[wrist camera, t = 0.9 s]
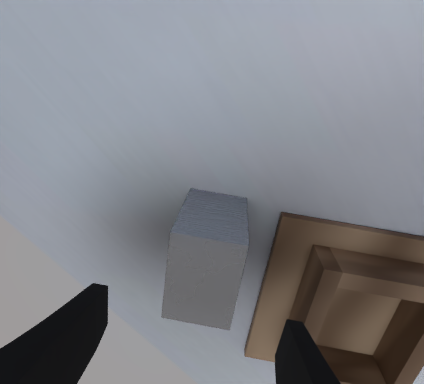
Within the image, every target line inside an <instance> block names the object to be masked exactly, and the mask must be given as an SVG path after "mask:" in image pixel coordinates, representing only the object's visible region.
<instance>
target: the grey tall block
mask: <svg viewBox="0 0 424 384" xmlns="http://www.w3.org/2000/svg"><path fill="white" fill-rule="evenodd" d="M248 248H249V237H248V216H247V198H244V197H238V196H232V195H226V194H220V193H215V192H209V191H203V190H197V189H190V191H189V193H188V195H187V197H186V200H185V202H184V204H183V206H182V208H181V210H180V212H179V214H178V217H177V219H176V221H175V223H174V225H173V227H172V229H171V231H170V238H169V248H168V258H167V268H166V277H165V287H164V297H163V306H162V316H161V317H162V318H167V319H172V320H178V321H183V322H188V323H194V324H199V325H204V326H209V327H215V328H220V329H225V330H230V327H231V322H232V318H233V314H234V309H235V305H236V300H237V296H238V292H239V287H240V283H241V279H242V274H243V270H244V266H245V261H246V257H247V253H248Z"/></svg>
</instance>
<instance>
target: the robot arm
mask: <svg viewBox="0 0 424 384" xmlns="http://www.w3.org/2000/svg"><path fill="white" fill-rule="evenodd" d="M107 321H108V286H106V285H100V284H95V283H93V284H91V285H90V286H88V287H87V288H86V289H84V291H82V292H81V293H79V294H78V295H77V296H75V297H74V298H73V299H71V300H70V301H69V302H68V303H66V304H65V305H64V306H62V307H61V308H60V309H58V310H57V311H55V312H54V313H53V314H51V315H50V316H49V317H47V318H46V319H45V320H43V321H42V322H40V323H39V324H37V325H36V326H34V327H33V328H31V329H30V330H29V331H27V332H25V333H24V334H22V335H21V336H19V337H18V338H16V339H15V340H13V341H12V342H10V343H9V344H7V345H5V346H4V347H2V348H1V349H0V384H77V383H78V381H79V379H80V377H81V376H82V374H83V372H84V371H85V369H86V367H87V365H88V364H89V362H90V360H91V358H92V357H93V355H94V353H95V351H96V349H97V347H98V345H99V343H100V340H101V338H102V336H103V334H104V331H105V329H106V326H107V324H108V322H107ZM275 373H276V384H341V383H340V382H339V380H338V379H337V377H336V375H335V374H334V372H333V371H332V369H331V368H330V366H329V365H328V363H327V362H326V360H325V358H324V357H323V355H322V353H321V352H320V350H319V349H318V347H317V345H316V344H315V342H314V340H313V339H312V337H311V335H310V333H309V332H308V330H307V328H306V327H305V325H304V324H303V322H301V321H296V320H290V319H287V320H286V323H285V326H284V329H283V332H282V335H281V338H280V341H279V344H278V347H277V350H276V353H275Z"/></svg>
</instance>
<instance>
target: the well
mask: <svg viewBox="0 0 424 384" xmlns="http://www.w3.org/2000/svg"><path fill="white" fill-rule="evenodd" d="M287 319H290V320H296V321H301V322H303V324H304V325H305V327H306V328H307V330H308V332H309V333H310V335H311V337H312V339H313V340H314V342H315V344H316V345H317V347H318V349H319V350H320V352H321V353H322V355H323V357H324V358H325V360H326V362H327V363H328V365H329V366H330V368H331V369H332V371H333V372H334V374H335V375H336V377H337V379H338V380H339V382H340V383H341V384H413V382H414V380H415V379H416V377H417V375H418V374H419V372H420V371H421V369H422V367H423V366H424V237H423V236H417V235H411V234H405V233H400V232H394V231H388V230H382V229H377V228H371V227H365V226H359V225H354V224H348V223H342V222H336V221H331V220H325V219H319V218H313V217H307V216H302V215H296V214H290V213H284V212H281V214H280V218H279V222H278V226H277V229H276V233H275V237H274V241H273V244H272V248H271V252H270V256H269V260H268V263H267V267H266V271H265V275H264V278H263V282H262V286H261V290H260V293H259V297H258V301H257V305H256V308H255V312H254V316H253V320H252V323H251V327H250V331H249V335H248V338H247V342H246V346H245V357H250V358H256V359H261V360H266V361H271V362H275V353H276V350H277V347H278V344H279V341H280V338H281V335H282V332H283V329H284V326H285V323H286V320H287Z"/></svg>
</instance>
